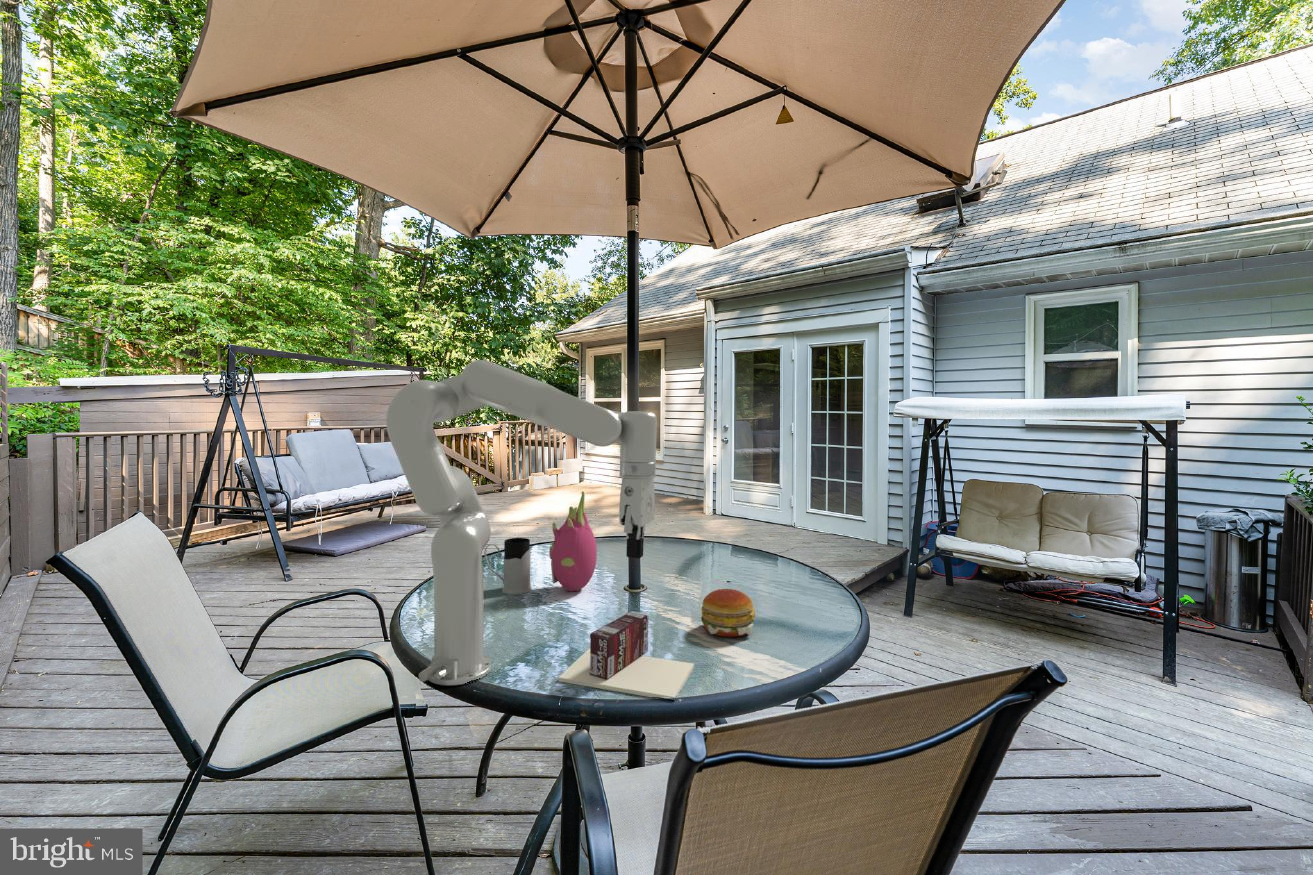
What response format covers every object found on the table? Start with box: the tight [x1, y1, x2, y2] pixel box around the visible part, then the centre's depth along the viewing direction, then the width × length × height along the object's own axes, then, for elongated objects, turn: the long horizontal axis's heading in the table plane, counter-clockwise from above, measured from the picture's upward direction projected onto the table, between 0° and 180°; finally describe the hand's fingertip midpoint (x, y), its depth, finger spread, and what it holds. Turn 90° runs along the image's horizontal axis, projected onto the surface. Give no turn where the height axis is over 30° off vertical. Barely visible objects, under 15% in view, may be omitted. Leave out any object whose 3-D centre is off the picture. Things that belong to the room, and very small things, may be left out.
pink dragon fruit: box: [549, 490, 598, 592], centre depth 170 cm, size 18×14×30 cm
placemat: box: [557, 647, 695, 698], centre depth 115 cm, size 15×24×1 cm, turn 72°
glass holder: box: [484, 537, 533, 595], centre depth 170 cm, size 9×14×15 cm, turn 89°
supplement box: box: [589, 610, 650, 680], centre depth 118 cm, size 9×5×16 cm
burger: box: [700, 588, 756, 638], centre depth 139 cm, size 13×14×10 cm
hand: (634, 556), depth 119 cm, fingers closed
